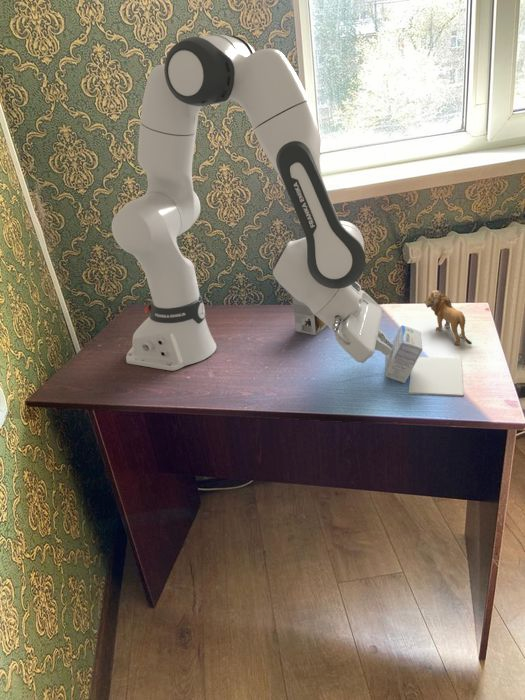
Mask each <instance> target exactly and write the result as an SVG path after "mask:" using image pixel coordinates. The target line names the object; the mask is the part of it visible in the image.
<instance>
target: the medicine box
mask: <svg viewBox="0 0 525 700" xmlns="http://www.w3.org/2000/svg"><path fill="white" fill-rule="evenodd" d="M392 343H393V347H392V352H391V353H390V354H389V355H388V356H386V355H385V359H384V361H385V363H384V364H385V367H384V369H385V372H384V374H385V375H384V376H385V377H386V378H389V379H392V380H394V381H397V382H399V383H402V384H405V383H406V382H407V381H408V380H407V379H408V378H409V377H410V374H411V371H412V369H413V367H414V365H415V363H416V361H417V359H418V358H419V357H421V356H420V355H421V353H422V352H423V341H422V332H421V331H420V330H418V329H415V328H412V327H409V326H406V325H403V324H402V325H400V327H399V329H398V330H397V333H396V335H395V337H394V338H393V341H392Z"/></svg>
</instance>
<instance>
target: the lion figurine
mask: <svg viewBox="0 0 525 700" xmlns="http://www.w3.org/2000/svg"><path fill="white" fill-rule="evenodd" d="M423 303H424V304H425V306H426V308H430V309H431V311H433V312H434V313H433V314H434V315H435V316H436V320H437V325H438V326H436V327H435V331H437V330H438V331H442V330H443V327H445V328H449V327H450V328H451V331H452V334H453V335H454V338H455V341H454V343H453V344H454V345H456V346H459V345H460V344H461V339H460V338H463V339H464V340H465V342H466V343H467V344H468V345H472V344H473V342H472V341H471V340H469V339H468V338H467V337H466V335H465V334H466V332H465V325H466V317H465V315H464V313H463V312H462V311H460V310H457V309H456V308H455V307H453V306H452V301H451V300H450V298H449V297H448V296H447V295H446V294H445V293H444V292H442V291H440V290H431V291H430V295H429V296H428V297H427V298H426V299H425V300H424V301H423ZM443 321H445V323H444V326H443ZM458 326H459V327H458ZM458 328H460V333H458Z"/></svg>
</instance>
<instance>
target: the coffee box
mask: <svg viewBox="0 0 525 700" xmlns="http://www.w3.org/2000/svg"><path fill="white" fill-rule="evenodd" d="M291 299H292V309H293V317H294V325H295V332H298V333H302V334H307V335H311V336H312V335H313V336H317V335H318V334H320V333H321V332H323V330H324V329H326V328H327V327H328V326H327V325H326V324H325V323H324V322H322V321H321V320H320V319H319V318H318V317H317V316H315V315H314V314H313V313H312V312H311V310H310V309H309V307H308V306H307V305H305V304H304V303H302V302H300V301H298V300H297V299H295V298H294V297H293V296H292V295H291Z"/></svg>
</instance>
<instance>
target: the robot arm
mask: <svg viewBox="0 0 525 700" xmlns="http://www.w3.org/2000/svg"><path fill="white" fill-rule="evenodd" d="M228 101H233V102H234V103H235V102H236V103H237V104H238V105H240V107H241V109H243V111H244V112H245V114H246V116H247V118H248V121H249V124H250V125H251V127H252V130H253V132H254V134H255V137H256V139H257V140H258V142H259V144H260V146H261V148H262V149H263V152H264V153H265V155H266V157H267V158H268V160H269V162H270V163H271V165H272V167H273V168H274V170H275V171H276V173H277V175H278V176H279V179H280V180H281V182H282V184H283V186H284V187H285V190H286V192H287V194H288V196H289V199H290V201H291V205H292V206H293V208H294V211H295V213H296V216H297V218H298V220H299V223H300V226H301V228H302V231H303V233H304V235H305V237H302V238H299V239H294V240H289V241H288V242H287V243H286V244H285V245H284V246H283V247H282V250H280V253H279V254H278V256H277V257H276V260H275V261H274V263H273V265H272V274H273V277H274V279H275V280H276V281H277V283H279V285H280V286H281V287H282V288H283V289H284V290H285V291H286V292H287V293H289V295H290V296H291V297H292V296H293V297H294V298H295V299H297V300H298V301H300V302H302V303H304V304H305V305H307V306H308V307H309V309H310V310H311V312H312V313H313V314H314V315H315V316H317V317H318V318H319V319H320V320H321V321H322V322H324V323H325V324H326V325H327V327H328V328H330V329H331V330H332V331H333V333H334V336H335V340H336V342H337V344H338V345H339V346H341V348H342V349H343V350H344V351H345V352H346V353H347V354H348V355H349V356H350V357H351V358H352V359H353V360H355V361H356V362H358V363H361V364H364V363H365V362H367V360H369V359H370V358H371V357H372V356H373V355H374V354H375V350H376V351H379V352H381V353H382V354H383V355H384V356H385V357H386V356H388V355H389V354H390V353H391V352H392V347H393V341H392V342H391V341H390V339H388V337H387V336H386V334H385V333H384V331H383V330H382V329H381V327H380V325H381V321H382V316H383V310H382V307H381V306H380V305H379V304H378V303H377V302H376V301H375V300H374V299H373V298H372V297H371V296H370V295H369V294H368V293H367V292H366V291H364V290H363V289H362V287H361V285H360V284H359V283H358V282H357V281H358V280H359V279H360V277H361V276H362V275H363V272H364V270H365V267H366V253H365V242H364V236H363V233H362V231H361V230H360V228H359V227H358V226H357V225H355V223H352V222H350V221H347V220H343V219H341V220H339V217H338V214H337V212H336V209H335V207H334V205H333V202H332V200H331V197H330V195H329V193H328V190H327V187H326V184H325V183H324V180H323V175H322V171H321V162H320V161H321V160H320V157H321V156H320V155H321V152H320V151H321V135H320V130H319V127H318V122H317V118H316V116H315V112H314V110H313V107H312V105H311V103H310V100H309V98H308V95H307V93H306V90H305V88H304V87H303V84H302V83H301V80H300V79H299V77H298V75H297V73H296V71H295V70H294V68H293V67H292V65H291V63H290V61H288V59H287V58H286V56H285V55H284V54H283V53H282V52H281V51H280V50H278V49H274V48H262V49H258V50H256V51H255V49H254V48H253V47H252V45H251V44H250V43H249V42H248V41H246V40H245V39H243V38H242V37H238V36H235V35H225V34H217V33H216V34H215V33H213V34H212V33H211V34H207V35H203V36H189V37H186V38H184V39H182V40H180V41H178V42H176V44H174V45H173V46H172V47H171V48H170V50H169V51H168V52H167V54H166V58H165V61H164V63H161V64H157V65H156V66H155V67H153V68H152V69H151V70H150V72H149V75H148V77H147V81H146V84H145V89H144V93H143V98H142V103H141V110H140V120H139V133H138V146H137V156H136V157H137V162H138V164H139V166H140V168H141V169H142V170H143V171H144V172H145V174H146V180H147V189H146V192H145V194H144V195H142V196H139V197H137V198H135V199H133V200H130V201H129V202H127V203H126V204H125V205H123V206H122V207H121V208H120V210H118V211H117V213H115V215H113V218H112V221H111V233H112V235H113V238H114V240H115V242H116V243H117V245H118V246H119V247H120V248H121V250H122V249H123V250H124V251H125V252H126V253H128V254H130V255H132V256H133V257H134V258H135V259H136V260H137V262H138V263H139V264H140V267H141V268H142V270H143V272H144V274H145V278H146V281H147V284H148V289H149V292H150V296H151V299H152V300H151V301H150V302H148V304H147V306H146V307H145V308H144V309H143V310H144V311H145V312H144V313H145V314H147V313H148V312H149V316H148V317H147V318H146V319H145V320H144V321H143V323H141V324H140V326H139V327H138V328H137V329H136V330H135V331H134V333H133V336H132V346H131V348H130V349H129V350H128V351H127V353H126V356H125V361H126V364H129V365H136V366H142V367H148V368H153V369H159V370H166V371H177V370H179V369H180V370H181V369H182V368H183V367H185V366H188V365H193V364H195V363H199V362H202V361H204V360H206V359H207V358H209V357H210V356H212V355H213V354H214V352H215V351H216V350H217V343H216V341H215V340H214V338H213V336H212V334H211V331H210V329H209V326H208V322H207V320H206V310H205V304H204V300H203V297H202V293H201V292H200V289H199V285H198V279H197V274H196V270H195V269H196V268H195V265H194V264H193V262H192V261H191V260H190V259H189V258H187V257H185V256H184V255H183V253H182V252H181V250H180V248H179V245H178V239H177V237H179V236H180V235H183V234H184V233H185V232H186V231H188V230H189V229H191V228H192V226H193V225H194V224H195V223H196V221H197V220H198V219H199V217H200V213H201V208H202V207H201V202H200V198H199V197H198V195H197V193H196V191H194V183H193V160H194V154H195V153H194V151H195V144H196V137H197V130H198V119H199V114H200V111H201V109H202V107H207V106H211V105H219V104H224V103H226V102H228Z"/></svg>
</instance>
